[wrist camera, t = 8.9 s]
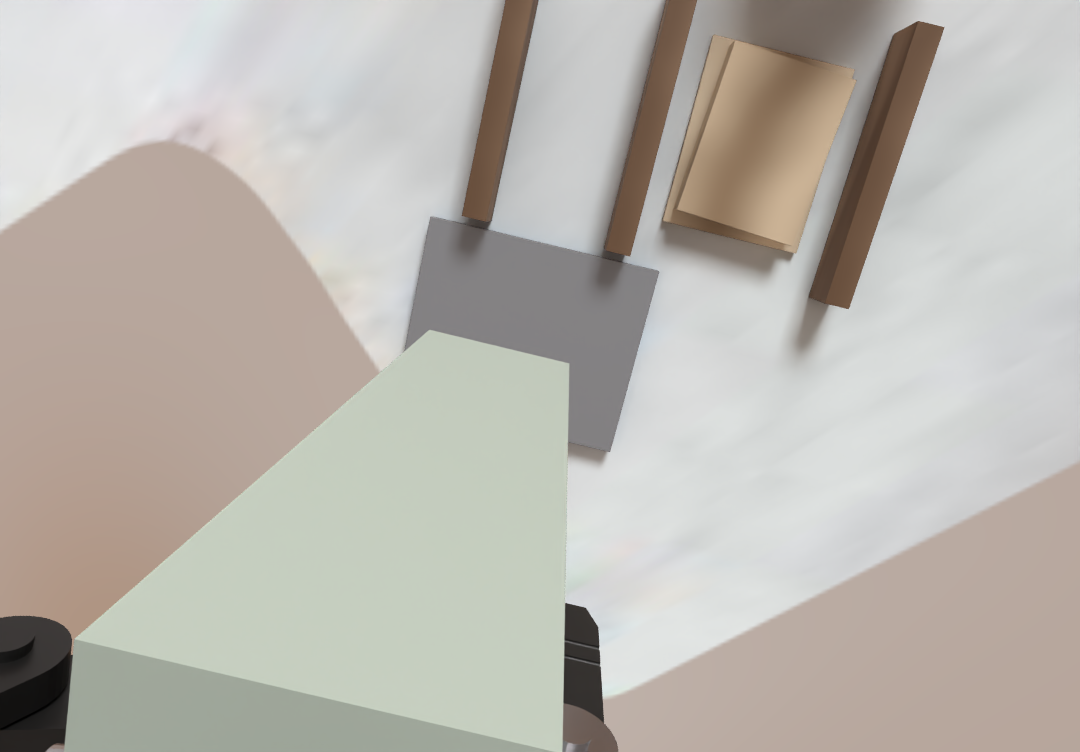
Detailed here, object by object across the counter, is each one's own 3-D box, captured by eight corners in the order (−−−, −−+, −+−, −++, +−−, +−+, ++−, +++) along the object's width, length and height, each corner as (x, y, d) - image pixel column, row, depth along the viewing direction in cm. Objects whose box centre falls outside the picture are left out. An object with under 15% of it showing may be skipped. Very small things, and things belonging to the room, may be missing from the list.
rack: (918, 39, 35) (944, 27, 32) (830, 302, 38) (848, 309, 35) (524, -57, 34) (521, -77, 32) (468, 215, 37) (461, 216, 35)
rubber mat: (657, 270, 38) (659, 271, 37) (609, 447, 40) (610, 452, 39) (433, 216, 37) (430, 217, 37) (398, 397, 40) (394, 400, 39)
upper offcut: (846, 84, 35) (856, 80, 34) (784, 244, 37) (792, 245, 36) (729, 45, 35) (735, 39, 33) (673, 208, 36) (677, 209, 35)
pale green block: (569, 363, 15) (563, 752, 4) (487, 686, 17) (342, 1513, 6) (429, 329, 15) (74, 638, 4) (362, 657, 17) (1, 1439, 6)
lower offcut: (845, 74, 36) (854, 69, 35) (789, 252, 38) (796, 253, 37) (709, 40, 36) (713, 34, 35) (660, 220, 38) (663, 220, 37)
